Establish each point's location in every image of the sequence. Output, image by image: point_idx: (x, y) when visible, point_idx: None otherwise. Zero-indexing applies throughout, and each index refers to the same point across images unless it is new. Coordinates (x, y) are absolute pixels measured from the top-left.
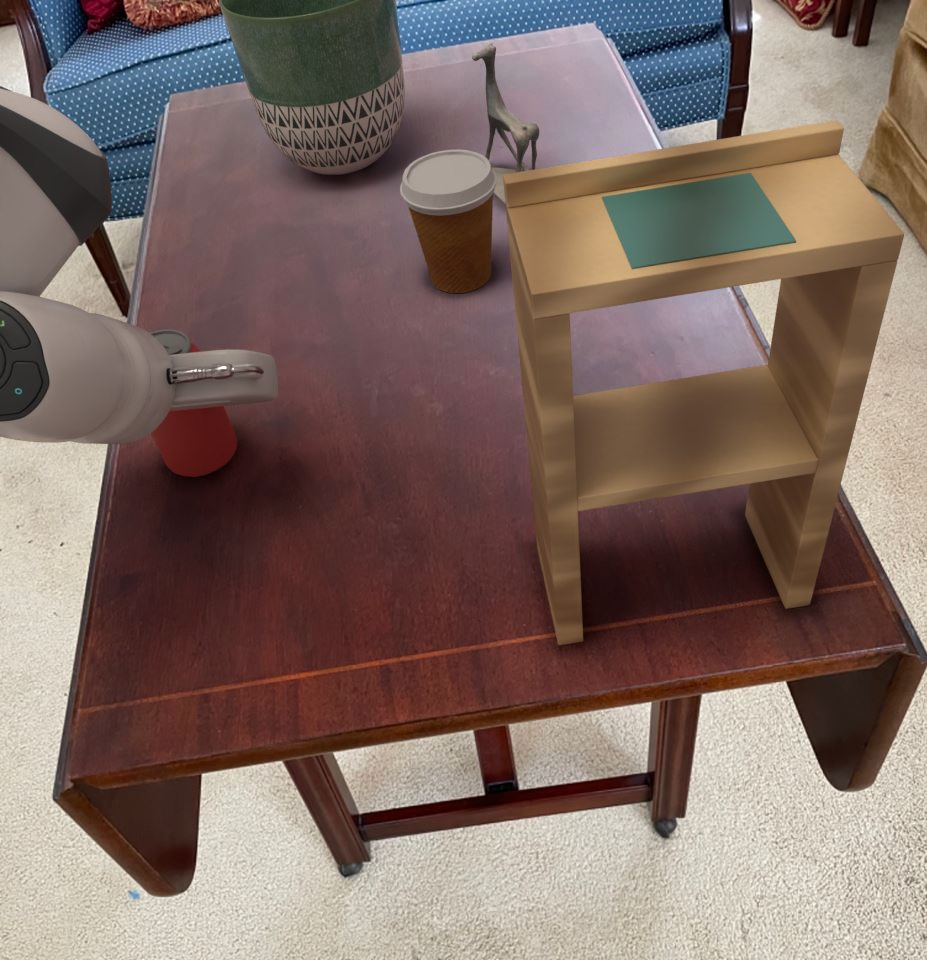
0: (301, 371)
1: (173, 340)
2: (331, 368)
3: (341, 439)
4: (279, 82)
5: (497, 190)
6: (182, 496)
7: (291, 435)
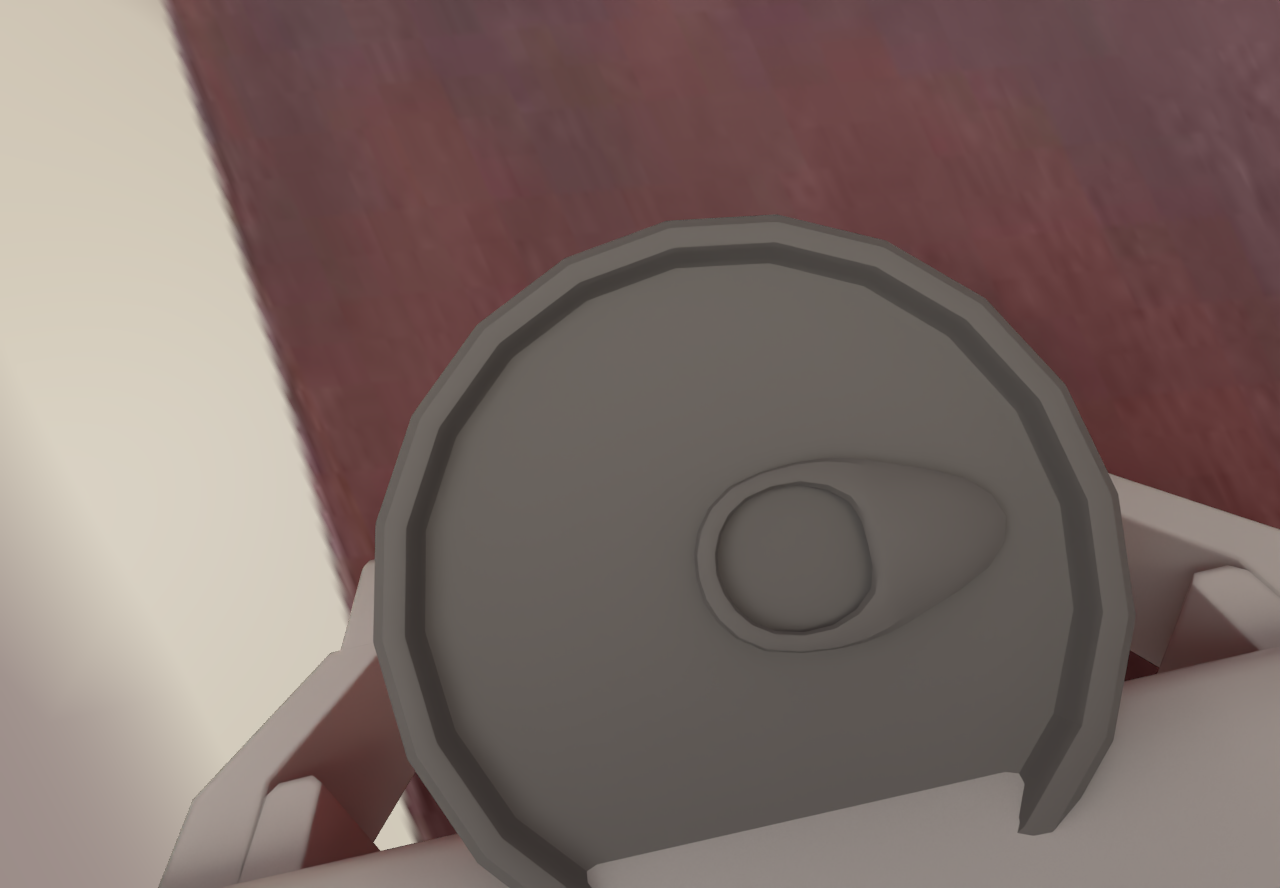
0: (896, 94)
1: (819, 360)
2: (1008, 68)
3: (1213, 428)
4: None
5: None
6: None
7: None
